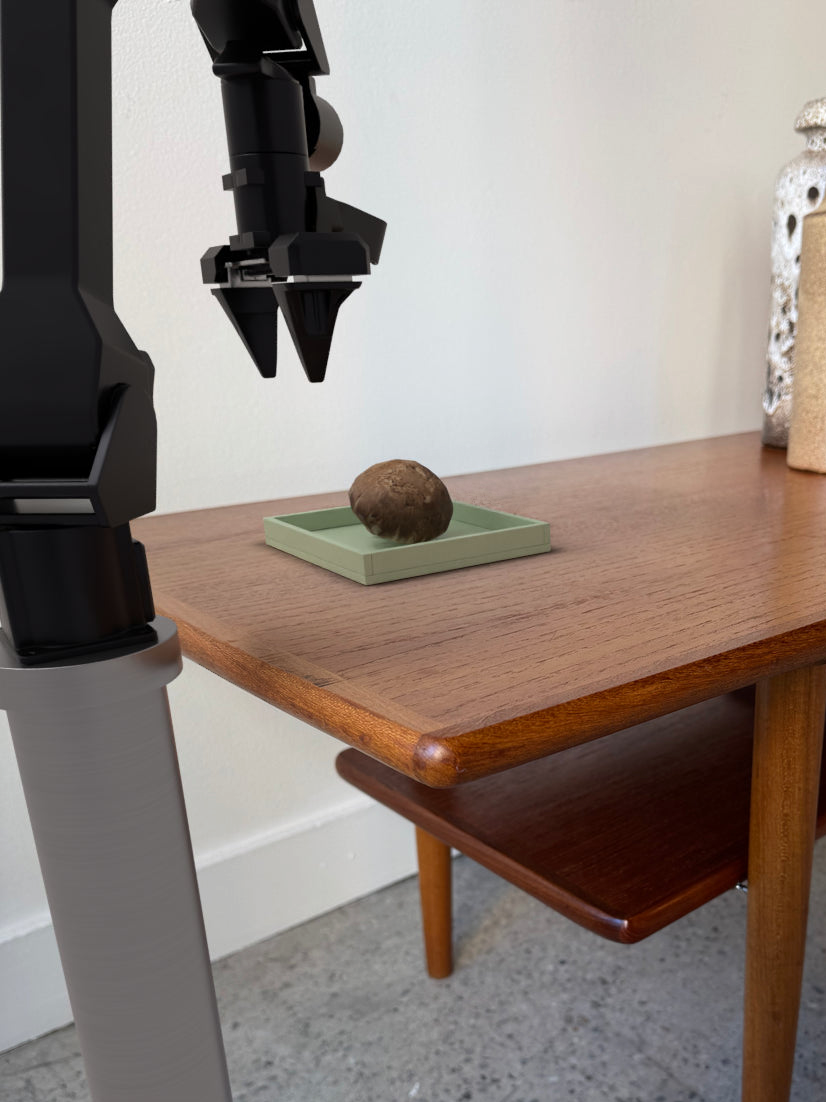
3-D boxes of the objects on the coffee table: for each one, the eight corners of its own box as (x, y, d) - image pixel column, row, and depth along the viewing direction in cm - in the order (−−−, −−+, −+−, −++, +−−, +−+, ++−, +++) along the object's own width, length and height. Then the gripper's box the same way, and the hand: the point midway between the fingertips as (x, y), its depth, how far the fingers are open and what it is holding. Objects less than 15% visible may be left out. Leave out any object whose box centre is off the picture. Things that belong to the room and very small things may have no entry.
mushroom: (336, 489, 81) (363, 426, 77) (430, 520, 85) (461, 461, 80) (332, 557, 76) (361, 493, 72) (433, 587, 79) (466, 528, 75)
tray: (365, 585, 69) (363, 554, 68) (265, 544, 82) (262, 517, 81) (551, 551, 77) (550, 522, 76) (432, 518, 90) (431, 494, 89)
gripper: (428, 147, 73) (441, 378, 79) (316, 177, 88) (334, 370, 93) (279, 138, 68) (304, 388, 73) (186, 171, 82) (212, 378, 87)
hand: (292, 380), depth 82 cm, fingers open, 9 cm apart
